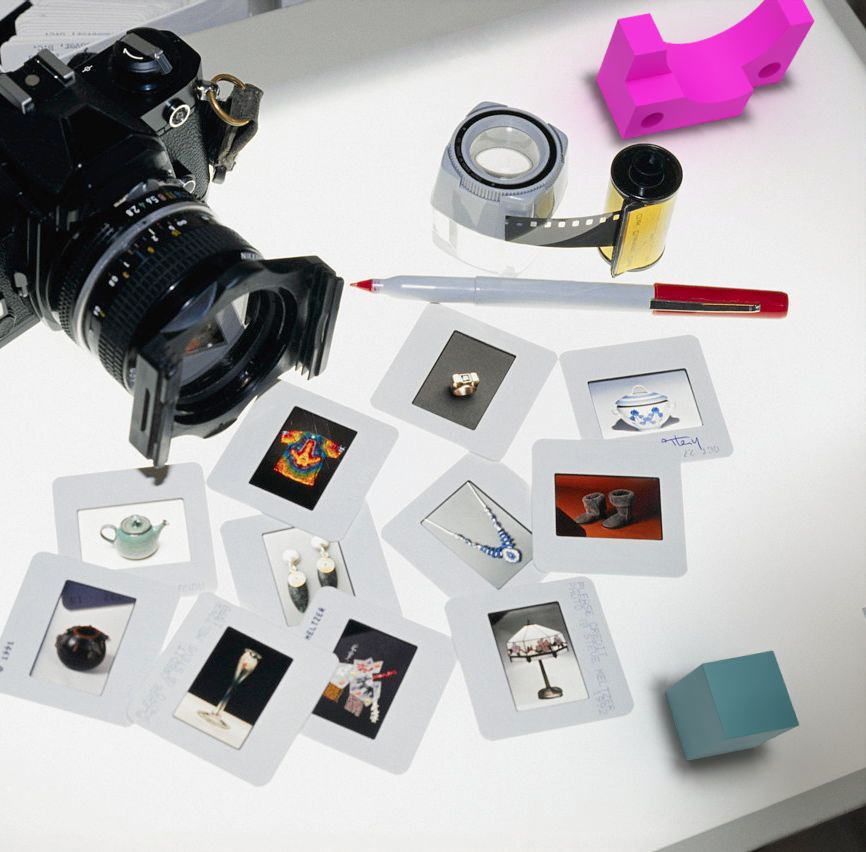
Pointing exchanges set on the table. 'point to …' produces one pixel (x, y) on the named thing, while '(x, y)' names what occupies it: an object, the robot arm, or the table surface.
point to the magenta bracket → (696, 68)
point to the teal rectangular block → (731, 705)
